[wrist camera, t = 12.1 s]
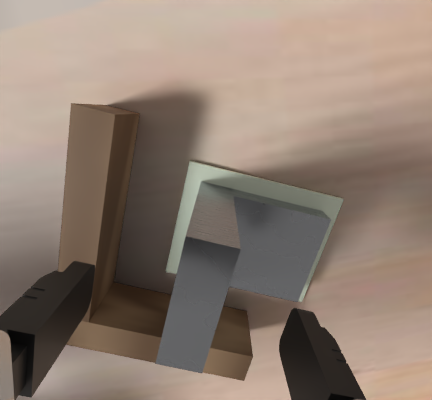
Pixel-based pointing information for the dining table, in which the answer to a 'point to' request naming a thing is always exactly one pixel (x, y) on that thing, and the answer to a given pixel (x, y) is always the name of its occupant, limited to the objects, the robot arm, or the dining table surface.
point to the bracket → (235, 264)
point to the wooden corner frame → (109, 246)
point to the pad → (250, 185)
